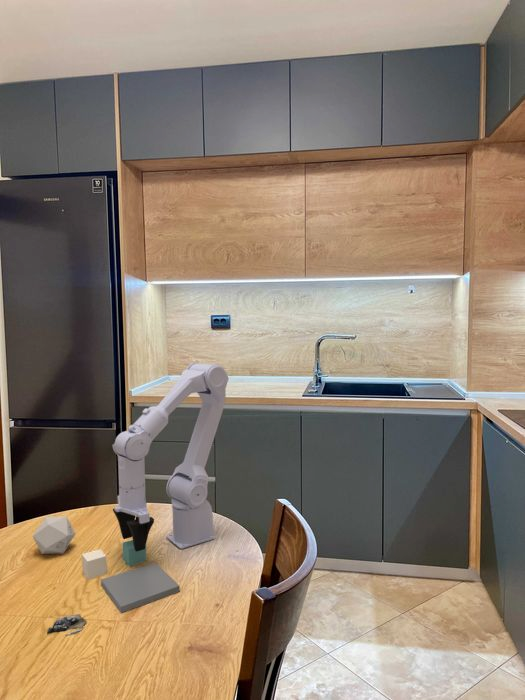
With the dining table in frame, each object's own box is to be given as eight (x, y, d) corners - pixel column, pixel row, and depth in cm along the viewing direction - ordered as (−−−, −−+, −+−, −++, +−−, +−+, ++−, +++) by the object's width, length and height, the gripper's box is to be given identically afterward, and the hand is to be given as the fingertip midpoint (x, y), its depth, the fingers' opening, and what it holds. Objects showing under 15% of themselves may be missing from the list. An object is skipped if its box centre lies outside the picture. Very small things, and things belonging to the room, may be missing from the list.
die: (49, 566, 111) (75, 527, 114) (19, 545, 113) (45, 507, 115) (63, 561, 119) (87, 525, 122) (34, 542, 120) (59, 506, 123)
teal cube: (139, 554, 115) (139, 538, 115) (146, 561, 112) (145, 544, 111) (122, 559, 113) (122, 542, 112) (129, 566, 109) (128, 549, 109)
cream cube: (101, 566, 110) (100, 548, 110) (106, 573, 107) (106, 556, 106) (82, 571, 107) (81, 554, 107) (87, 579, 104) (87, 561, 104)
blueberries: (91, 630, 88) (91, 619, 88) (45, 650, 83) (44, 639, 83) (77, 613, 93) (76, 603, 93) (32, 631, 88) (31, 621, 88)
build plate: (155, 567, 109) (155, 562, 109) (179, 591, 99) (179, 585, 99) (101, 585, 102) (100, 579, 102) (121, 612, 92) (120, 606, 92)
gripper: (104, 480, 115) (105, 536, 115) (126, 498, 103) (128, 561, 104) (133, 474, 119) (134, 529, 120) (157, 491, 107) (159, 551, 108)
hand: (133, 543), depth 112 cm, fingers open, 7 cm apart
